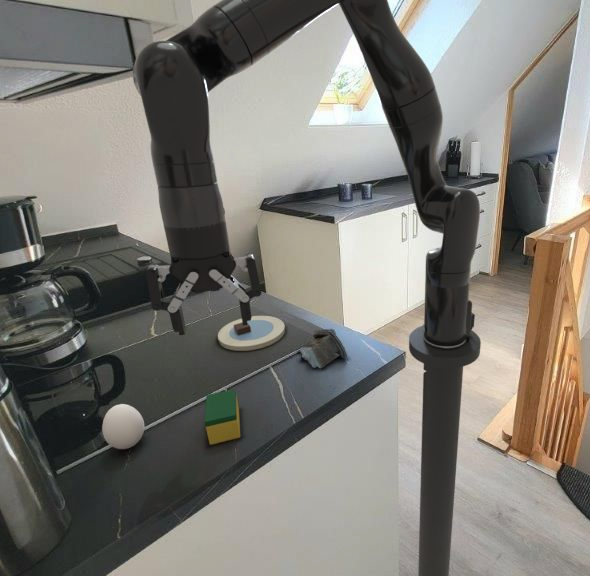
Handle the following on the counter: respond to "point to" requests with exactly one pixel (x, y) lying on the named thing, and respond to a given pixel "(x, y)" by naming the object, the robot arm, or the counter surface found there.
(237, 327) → the crumb
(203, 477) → the counter surface
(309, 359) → the grey jagged block
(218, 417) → the sponge
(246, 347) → the plate
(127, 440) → the egg
